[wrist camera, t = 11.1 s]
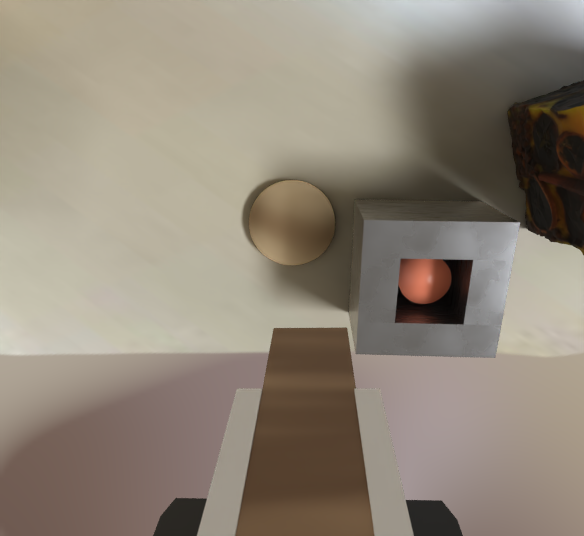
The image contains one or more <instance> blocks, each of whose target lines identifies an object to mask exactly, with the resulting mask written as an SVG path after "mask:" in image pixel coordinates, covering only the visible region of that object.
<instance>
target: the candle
mask: <svg viewBox="0 0 584 536" xmlns="http://www.w3.org/2000/svg"><path fill="white" fill-rule="evenodd" d="M508 119H509V125H510V130H511V136H512V141H513V143H512V147H513V155H514V159H515V163H516V172H517V178H518V180H519V181H520V184H519V188H521V189H523V190H524V191H525V193H526V215H525V218H526V225H527V227H528V230H529V231H531V232H533V233H535V234H537V235H539V234H540V236H545V238H547V239H549V240H550V242H558V243H562V244H568V245H572V246H574V247H576V248H578V249H580V250H581V251H582V253H583V255H584V80H583V81H581V82H577V83H573V84H571V85H570V86H563V87H562V88H561V89H560V90H558V91H554V92H552V93H549V94H547V95H542V96H539V97H536V98H534V99H531V100H529V101H526V102H521V103H515V104H514V105H513V106H511V107H510V109H509V111H508Z"/></svg>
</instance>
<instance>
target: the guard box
mask: <svg viewBox="0 0 584 536" xmlns="http://www.w3.org/2000/svg"><path fill="white" fill-rule="evenodd" d="M519 226H520V222H518V221H517V220H515V219H513V218H511V217H509V216H508V215H506V214H504V213H502V212H500V211H499V210H497V209H495V208H493V207H491V206H490V205H488V204H486V203H484V202H482V201H441V200H365V199H355V202H354V221H353V240H352V259H351V278H350V297H349V317H350V323H351V329H352V335H353V341H354V346H355V352H356V354H372V355H411V356H448V357H483V358H495V357H496V351H497V346H498V341H499V335H500V330H501V324H502V319H503V313H504V308H505V302H506V297H507V291H508V286H509V280H510V275H511V269H512V264H513V259H514V253H515V248H516V242H517V237H518V231H519ZM401 259H443V261H444V262H445V263H446V264H447V265H448V267H449V269H450V271H451V284H450V287H449V289H448V291H447V292H446V294H445V295H444V296H443V297H441V298H440V299H439V300H437V301H435V302H432V303H428V304H418V303H414V302H412V301H410V300H408V299H407V298H406V297H405V296H404V295H403V294H402V292H401V290H400V288H399V286H398V282H399V271H400V260H401Z"/></svg>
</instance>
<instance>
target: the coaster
mask: <svg viewBox="0 0 584 536" xmlns="http://www.w3.org/2000/svg"><path fill="white" fill-rule="evenodd" d="M249 230H250V235H251V237H252V240H253V242H254V244H255V245H256V247H257V248H258V249H259V251H260V252H261V253H262V254H263V255H265V256H266V257H267V258H269V259H270V260H272V261H274V262H277V263H280V264H284V265H301V264H305V263H308V262H310V261H313V260H314V259H316V258H318V257H319V256H320V255H321V254H322V253H323V252H324V251H325V250H326V249H327V248H328V246H329V245H330V243H331V241H332V238H333V236H334V231H335V216H334V211H333V208H332V206H331V203H330V202H329V200H328V198H327V197H326V196H325V195H324V193H323V192H322V191H320V190H319V189H318V188H317V187H315V186H313V185H311V184H309V183H307V182H304V181H299V180H284V181H280V182H277V183H274V184H272V185H270V186H269V187H267V188H266V189H265V190H264V191H262V192H261V194H260V195H259V196H258V197H257V199H256V200H255V202H254V204H253V206H252V208H251V211H250V215H249Z"/></svg>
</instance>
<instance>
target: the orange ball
mask: <svg viewBox="0 0 584 536" xmlns="http://www.w3.org/2000/svg"><path fill="white" fill-rule="evenodd" d="M450 284H451V271H450V269H449V267H448V265H447V264H446V263H445V262H444V261H443V259H401V260H400V271H399V282H398V286H399V288H400V290H401V292H402V294H403V295H404V296H405V297H406V298H407V299H408V300H410V301H412V302H414V303H418V304H428V303H432V302H435V301H437V300H439V299H440V298H441V297H443V296H444V295H445V294H446V292H447V291H448V289H449V287H450Z"/></svg>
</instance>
